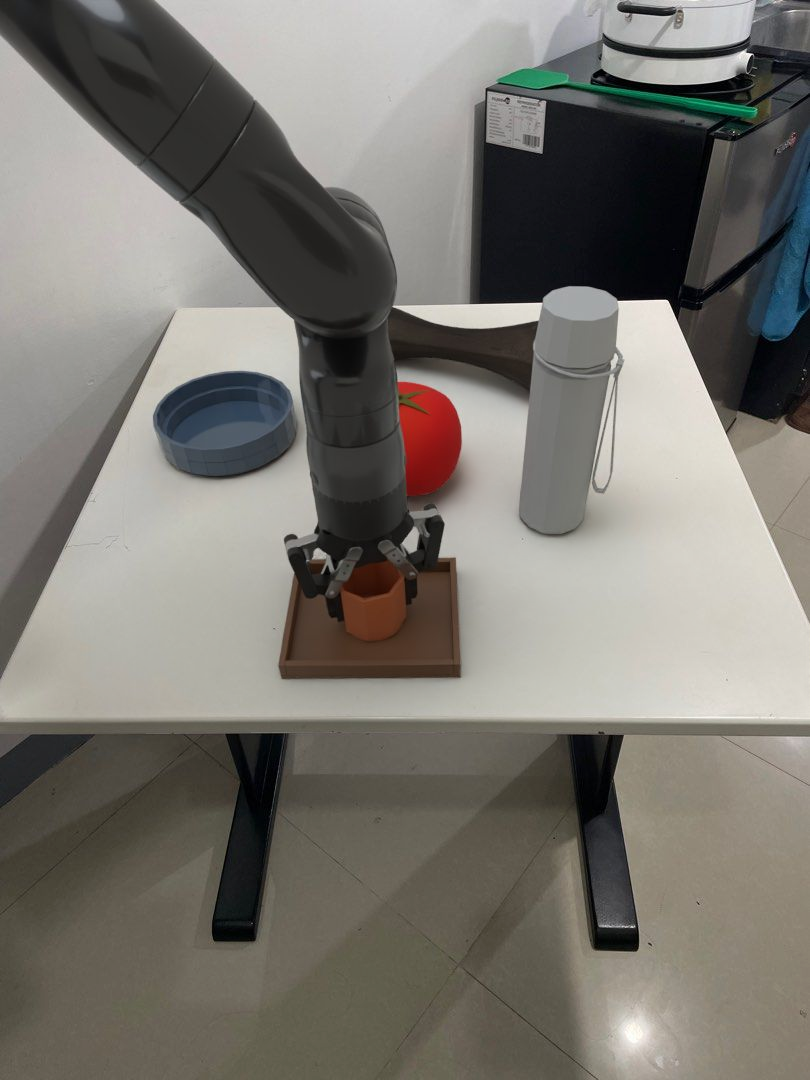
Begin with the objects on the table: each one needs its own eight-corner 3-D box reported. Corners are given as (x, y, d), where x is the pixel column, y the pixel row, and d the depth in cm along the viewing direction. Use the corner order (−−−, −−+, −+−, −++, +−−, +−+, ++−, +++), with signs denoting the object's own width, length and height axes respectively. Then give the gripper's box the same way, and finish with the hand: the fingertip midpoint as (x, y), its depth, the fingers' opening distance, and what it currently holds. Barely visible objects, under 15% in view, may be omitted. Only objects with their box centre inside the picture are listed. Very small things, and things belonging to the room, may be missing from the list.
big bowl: (166, 491, 86) (155, 461, 83) (159, 413, 98) (150, 384, 95) (308, 463, 89) (303, 432, 86) (285, 390, 101) (280, 361, 98)
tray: (281, 678, 67) (277, 665, 65) (298, 572, 76) (296, 559, 75) (460, 677, 66) (460, 664, 65) (455, 570, 75) (455, 557, 74)
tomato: (482, 464, 88) (485, 379, 80) (420, 531, 80) (417, 445, 72) (393, 431, 93) (388, 349, 85) (327, 492, 85) (315, 407, 77)
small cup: (351, 648, 68) (344, 606, 64) (337, 602, 72) (330, 560, 68) (411, 633, 69) (409, 590, 65) (395, 588, 73) (392, 546, 69)
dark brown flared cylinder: (576, 399, 100) (393, 380, 111) (587, 319, 97) (398, 308, 109) (557, 403, 91) (359, 382, 102) (568, 314, 88) (363, 303, 99)
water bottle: (508, 531, 79) (526, 317, 62) (527, 487, 84) (549, 277, 67) (593, 551, 77) (638, 333, 59) (607, 504, 82) (652, 291, 64)
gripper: (430, 423, 62) (432, 562, 73) (260, 457, 59) (290, 596, 71) (460, 477, 56) (457, 618, 68) (274, 517, 54) (305, 656, 66)
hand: (372, 606), depth 69 cm, fingers closed on small cup, 6 cm apart
